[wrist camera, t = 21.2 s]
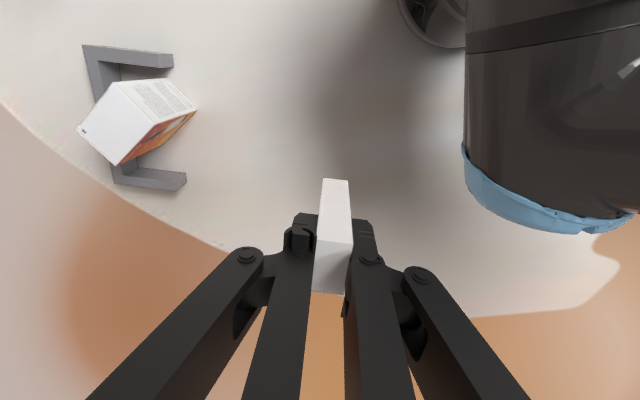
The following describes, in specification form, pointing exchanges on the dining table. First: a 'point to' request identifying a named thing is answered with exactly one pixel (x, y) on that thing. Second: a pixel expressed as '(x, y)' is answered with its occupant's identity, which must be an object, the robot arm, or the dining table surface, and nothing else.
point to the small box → (134, 118)
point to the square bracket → (107, 71)
